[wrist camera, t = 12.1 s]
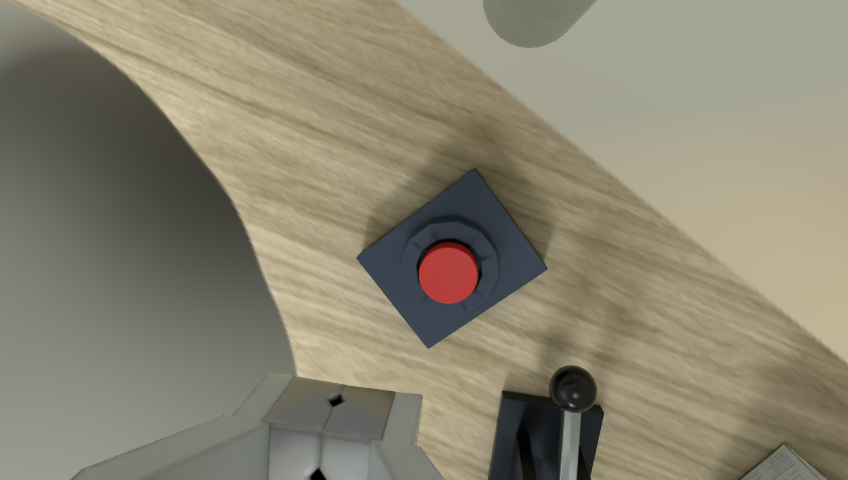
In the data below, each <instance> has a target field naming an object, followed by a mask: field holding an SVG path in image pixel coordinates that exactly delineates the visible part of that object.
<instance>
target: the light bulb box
mask: <svg viewBox="0 0 848 480" xmlns="http://www.w3.org/2000/svg"><path fill="white" fill-rule="evenodd" d="M741 480H827V479H826V478H825V477H824V476H822V475H821V474H820V473H819V472H818V471H817V470H815V469H814V468H813V467H812V466H811V465H810V464H808V463H807V462H806V461H805V460H804V459H803V458H801V457H800V456H799V455H798V454H797V453H796V452H794V451H793V450H792V449H791V448H790V447H789V446H788V445H786V444H783V445H782V446H781V447H780V448H779V449H777V450H776V451H775V452H774V453H772V454H771V455H770V456H769V457H768V458H766V459H765V460H764V461H763V462H762V463H760V464H759V465H758V466H757V467H755V468H754V469H753V470H752V471H751V472H749V473H748V474H747V475H746V476H744V477H743V478H742V479H741Z"/></svg>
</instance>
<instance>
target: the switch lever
mask: <svg viewBox="0 0 848 480" xmlns="http://www.w3.org/2000/svg"><path fill="white" fill-rule="evenodd" d="M549 393H550V396H551V399H552V400H553V402H554V403H555V405H556V406H557V407H558V408H560V409H561V410H562V412H561V425H560V439H559V452H558V465H557V479H556V480H577V467H578V452H579V437H580V422H581V413H583V412H585V411H587V410H589V409H590V408H591V407H592V406H593V404H594V403H595V401H596V398H597V385H596V382H595V380H594V378H593V377H592V375H591V374H590V373H589V372H588V371H586V370H585V369H583V368H581V367H578V366H574V365H569V366H564V367H561V368H559V369H558V370H557V371H556V372H555V373H554V374H553V375H552V377H551V379H550V383H549Z"/></svg>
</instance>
